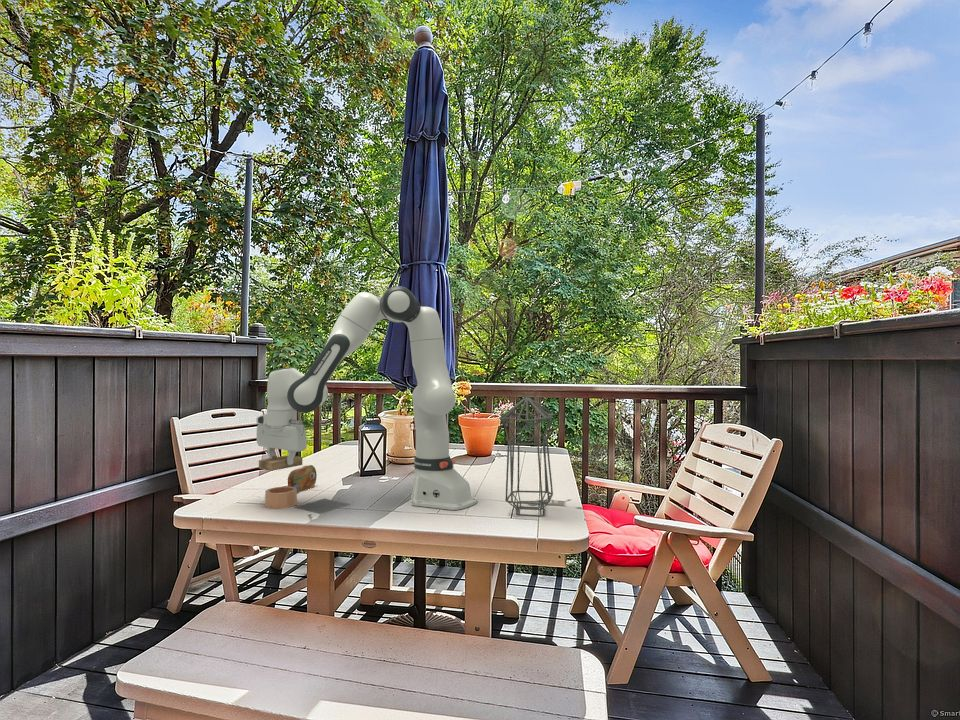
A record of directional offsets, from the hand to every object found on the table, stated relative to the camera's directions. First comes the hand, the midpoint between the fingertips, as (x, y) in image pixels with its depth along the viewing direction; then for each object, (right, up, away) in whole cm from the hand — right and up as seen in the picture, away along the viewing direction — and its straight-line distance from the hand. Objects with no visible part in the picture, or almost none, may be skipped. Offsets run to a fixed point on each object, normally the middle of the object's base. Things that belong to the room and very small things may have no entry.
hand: (281, 463), depth 156 cm
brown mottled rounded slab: (0, -14, +19) cm, 23 cm away
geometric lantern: (+77, -14, -5) cm, 78 cm away
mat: (+13, -14, -1) cm, 19 cm away
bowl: (0, -14, 0) cm, 14 cm away
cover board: (0, -1, 0) cm, 1 cm away
